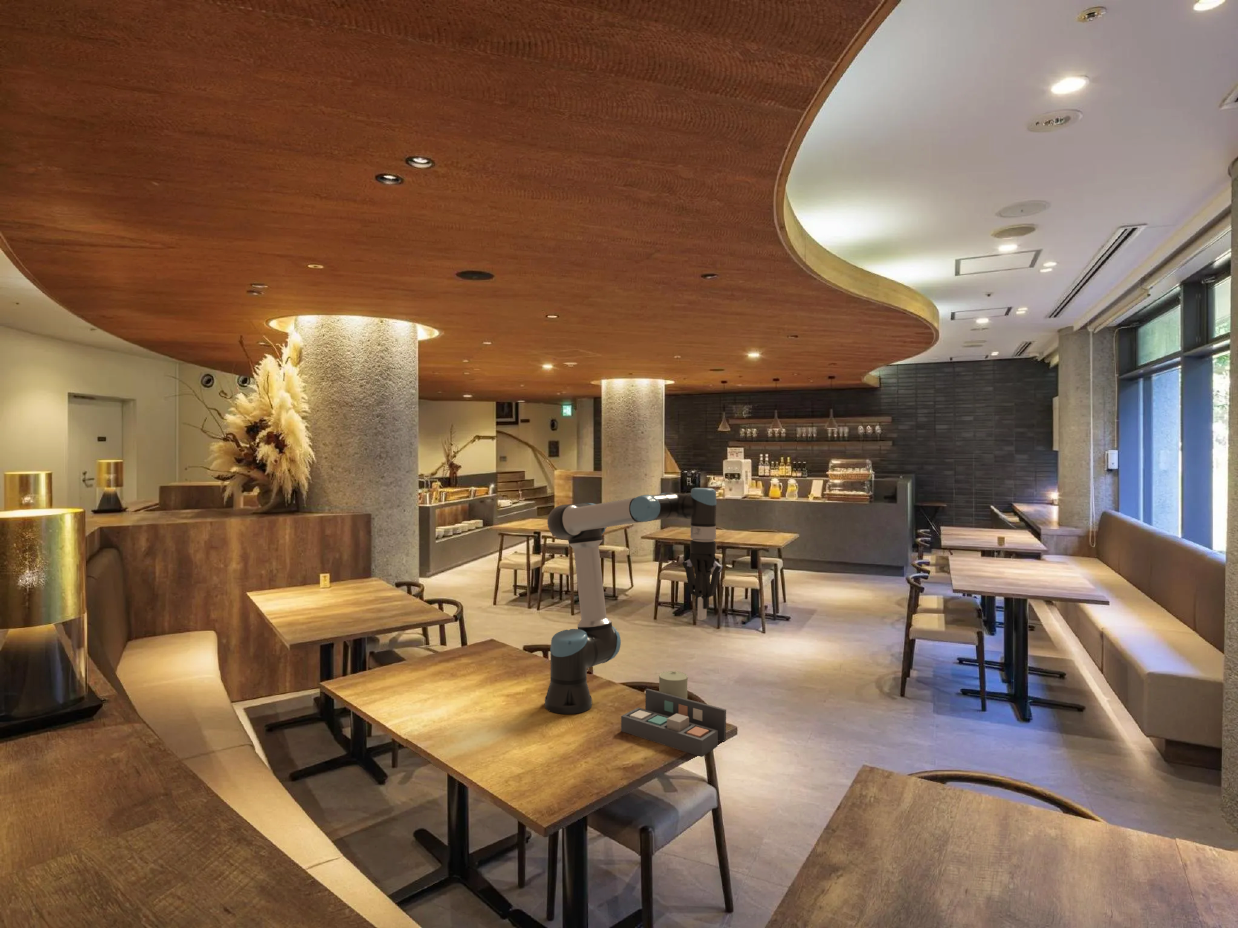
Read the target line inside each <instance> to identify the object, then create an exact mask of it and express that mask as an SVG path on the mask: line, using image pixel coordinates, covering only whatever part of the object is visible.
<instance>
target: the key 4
mask: <svg viewBox="0 0 1238 928" xmlns="http://www.w3.org/2000/svg"><path fill="white" fill-rule="evenodd" d="M708 733H709V730H706V729H703V728H700V727H694V728H693V729H691V730H689V731H688V732H687V734H688V735H692V736H695V737H698V738H702V737H704V736H705V735H707V734H708Z"/></svg>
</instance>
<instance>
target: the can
mask: <svg viewBox="0 0 1238 928" xmlns="http://www.w3.org/2000/svg"><path fill="white" fill-rule="evenodd" d="M688 678H689V677H688V675H687V673H685V672H681V671H677V670H675V671H674V670H668V671H663V672H660V673H659V675H658V682H659V683H658V685H659V686H658V689H659V690H658V691H659V692H662V693H666V694H670V695H674V696H677V697H681V698H685V699H688V681H689V679H688Z"/></svg>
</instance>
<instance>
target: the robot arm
mask: <svg viewBox="0 0 1238 928" xmlns="http://www.w3.org/2000/svg"><path fill="white" fill-rule="evenodd" d="M717 504H718V503H717V492H716V489H714V488H711V487H710V488H709V487H694V488H691V489H690V493H679V492H678V493H675V492H662V493H659V494H643V495H639V496H638V495H637V496H636V497H630V498H625V499H624V498H623V499H620V500H619V499H618V500H614V501H607V502H603V503H592V502H580V503H571V504H569V503H568V504H560V505H558V506H555V507H554V508H553V509H552V510H551V511H550V512H549V514H548V517H547V521H546V522H547V528H548V530H549V532H550V533H551V535H552V536H554V537H555V538H558V539H561V540H567V541H568V546H570V547H571V548H572V549H573V553H574V554H573V555H574V564H575V565H574V566H575V572H576V574H575V575H576V584H577V591H578V600H579V601H578V602H579V608H580V609H579V611H580V621H579V622H578V623H577V628H570V629H564V630H561V631H559V632H556V633H555V634H554V635H552V637H551V640H550V648H549V649H550V650H549V651H550V682H549V685H548V687H547V688H548V689H547V692H546V695H545V698H544V708H545V709H546V710H547V711H549V712H551V713H555V714H560V715H573V714H574V715H576V714H581V713H584V712H587V711H589V710H590V709H591V708H592V705H593V698H592V695H591V694H590V688H589V685H588V681H587V680H588V679H587V678H588V677H587V674H588V669H589V668H592V667H594V666H598V665H600V664H605V663H607V662H609V661H611V660H613V659H614V658H615V657H616V656H617V655H618V654H619V652H620V650H621V646H622V644H621V643H622V640H621V635H620V633H619V631H618V630H617V628H616V627H615V626H613V623H612V622H613V621H612V620H611V619H610V618H609V617H608V616H607V609H606V601H605V593H604V592H605V591H604V584H603V573H602V565H601V564H602V563H601V555H600V545H601V543H602V542H603V535H604V533H605V532H606V529H607V528H611V527H617V526H623V525H631V524H636V523H637V524H638V523H646V522H652V521H659V520H668V519H669V520H670V519H687V520H690V538H691V541H690V544H689V545H690V546H689V549H690V552H689V553H690V554H689V555H690V556H689V557H688V558H689V559H687V560H686V561H685V560H684V561H682V565H683V568H684V570H685V575H686V580H687V586H688V591H689V594H690V595H693V596H694V597H695V600H694V601H695V605H694V607H695V608H696V609H697V620H698V621H703V620H706V619H707V614H708V613H707V612H708V611H707V610H708V609H709V608H710V598H711V597H714V596H715V595H716V592H717V588H718V585H719V581H720V580H719V579H720V576H721V572H722V571H723V570H724V565H723V564H720V563H719V562H718V561H717V558H716V550H717V546H716V545H717V544H716V543H717V542H716V539H717ZM712 569H713V572H712Z"/></svg>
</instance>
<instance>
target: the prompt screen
mask: <svg viewBox="0 0 1238 928" xmlns="http://www.w3.org/2000/svg"><path fill="white" fill-rule="evenodd" d="M644 709H646V710H649V711H652V712H656V713H659V714H663V715H666V716H670V717H671V716H673V715H674V714H676V713H677V714H681V715H684V716H688V717H689V722H690V723H694V724H697V725H701V726H704V727H708V728H711V729H715V730H718V742H719V741H720V742H723V743H725V742H727V739H726V738H727V709H726V708H723V707H718V706H716V705H715V706H714V705H710V704H706V703H704V702H700V701H696V700H691V699H688V698H687V699H685V698H681V697H677V696H674V695H670V694H666V693H662V692H659V690H654V689H650V688H645V708H644ZM725 739H726V740H725ZM723 740H724V741H723Z"/></svg>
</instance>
